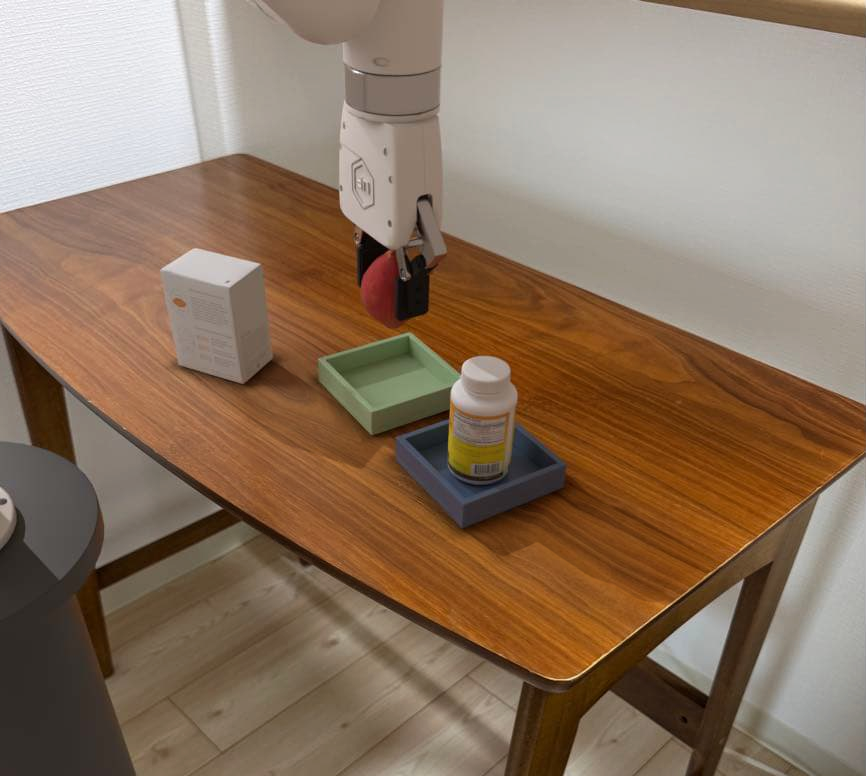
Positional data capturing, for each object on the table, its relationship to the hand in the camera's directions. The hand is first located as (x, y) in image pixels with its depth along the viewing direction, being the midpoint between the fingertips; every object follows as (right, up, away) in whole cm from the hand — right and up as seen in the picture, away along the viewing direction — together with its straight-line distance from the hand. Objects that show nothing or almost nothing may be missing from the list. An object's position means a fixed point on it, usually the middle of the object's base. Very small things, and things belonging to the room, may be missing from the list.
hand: (392, 298), depth 82 cm
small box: (-17, -4, +10) cm, 20 cm away
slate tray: (+8, -16, -2) cm, 18 cm away
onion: (0, -2, +2) cm, 3 cm away
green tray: (0, -7, +7) cm, 10 cm away
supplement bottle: (+8, -16, -3) cm, 18 cm away
